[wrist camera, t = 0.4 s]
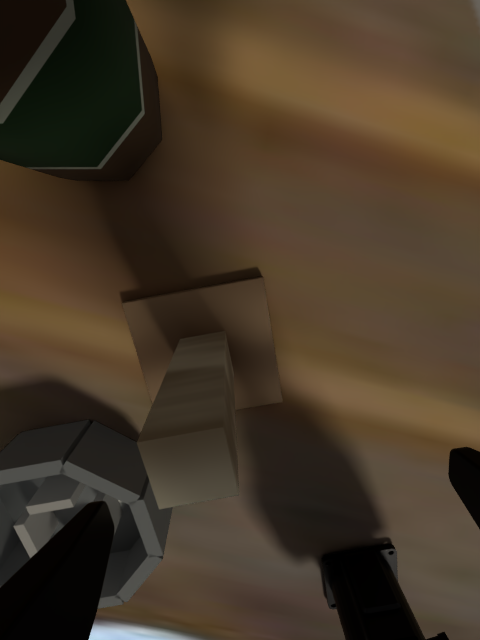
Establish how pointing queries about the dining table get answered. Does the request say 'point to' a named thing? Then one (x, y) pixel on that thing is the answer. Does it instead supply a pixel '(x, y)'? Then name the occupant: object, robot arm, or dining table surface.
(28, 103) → the beer bottle
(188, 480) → the square wooden post
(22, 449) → the bowl
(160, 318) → the coaster
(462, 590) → the dining table surface
